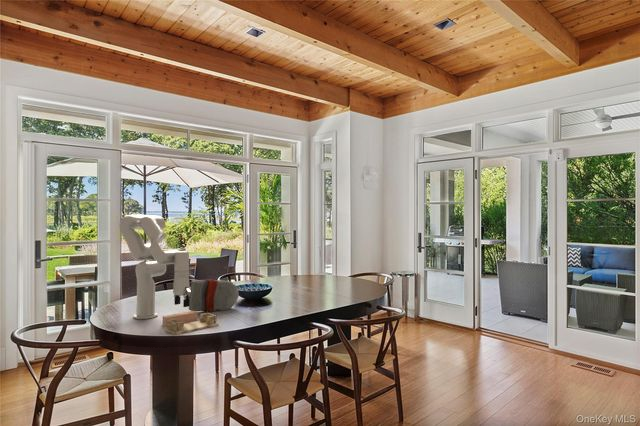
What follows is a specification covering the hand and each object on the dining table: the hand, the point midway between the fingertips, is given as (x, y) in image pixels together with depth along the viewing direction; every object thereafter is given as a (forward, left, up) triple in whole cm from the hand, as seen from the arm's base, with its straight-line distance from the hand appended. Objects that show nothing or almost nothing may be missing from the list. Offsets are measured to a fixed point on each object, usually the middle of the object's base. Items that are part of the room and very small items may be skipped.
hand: (181, 305), depth 212 cm
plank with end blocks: (+12, 0, -9) cm, 15 cm away
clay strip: (-1, 0, -10) cm, 10 cm away
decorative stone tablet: (-12, +28, -10) cm, 32 cm away
